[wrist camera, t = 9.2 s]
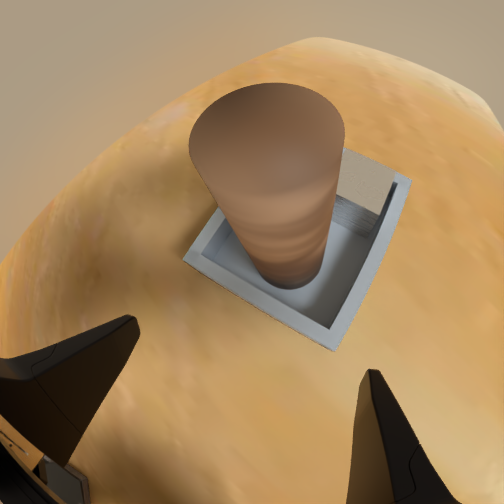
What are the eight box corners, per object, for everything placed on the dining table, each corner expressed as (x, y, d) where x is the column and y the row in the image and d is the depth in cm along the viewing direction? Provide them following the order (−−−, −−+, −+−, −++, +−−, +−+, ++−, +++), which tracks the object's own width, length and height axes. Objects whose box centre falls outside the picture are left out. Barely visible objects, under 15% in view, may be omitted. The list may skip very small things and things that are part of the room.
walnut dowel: (285, 304, 19) (252, 228, 7) (242, 253, 21) (164, 135, 9) (336, 258, 19) (376, 130, 7) (291, 213, 21) (271, 69, 9)
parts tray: (329, 350, 18) (334, 351, 15) (197, 270, 22) (182, 259, 19) (401, 198, 21) (412, 180, 18) (283, 146, 24) (280, 124, 22)
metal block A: (366, 239, 19) (379, 215, 16) (320, 215, 20) (323, 188, 17) (383, 199, 20) (396, 171, 16) (341, 178, 21) (346, 148, 18)
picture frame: (90, 476, 17) (10, 410, 21) (79, 481, 15) (1, 410, 19) (100, 539, 13) (20, 474, 17) (91, 544, 11) (11, 475, 15)
